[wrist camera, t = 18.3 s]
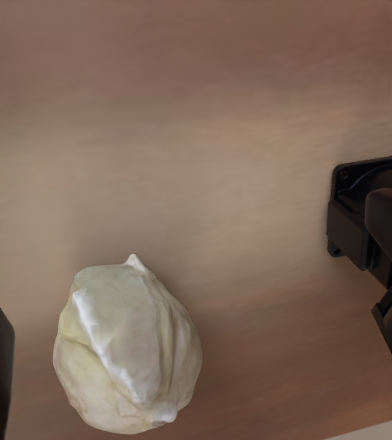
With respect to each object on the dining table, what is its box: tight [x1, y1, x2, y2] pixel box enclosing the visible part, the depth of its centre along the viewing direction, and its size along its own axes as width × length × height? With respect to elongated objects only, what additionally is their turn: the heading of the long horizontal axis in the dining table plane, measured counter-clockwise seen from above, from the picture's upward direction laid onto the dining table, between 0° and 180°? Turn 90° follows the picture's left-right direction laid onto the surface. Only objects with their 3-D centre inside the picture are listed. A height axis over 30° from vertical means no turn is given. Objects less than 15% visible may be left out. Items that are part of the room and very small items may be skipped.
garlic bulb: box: [53, 254, 202, 434], centre depth 20 cm, size 9×8×10 cm
